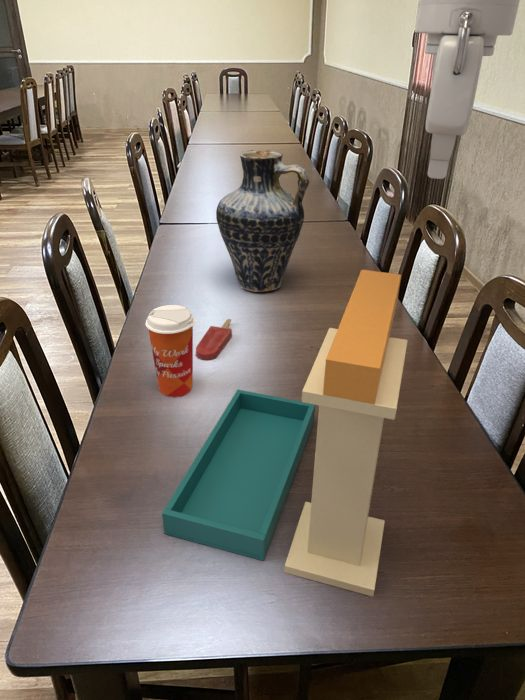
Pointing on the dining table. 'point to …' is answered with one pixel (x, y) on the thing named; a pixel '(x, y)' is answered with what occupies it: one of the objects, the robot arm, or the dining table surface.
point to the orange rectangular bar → (362, 338)
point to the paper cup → (172, 348)
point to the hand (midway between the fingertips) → (437, 167)
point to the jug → (262, 220)
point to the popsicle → (214, 341)
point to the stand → (345, 480)
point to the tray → (242, 475)
